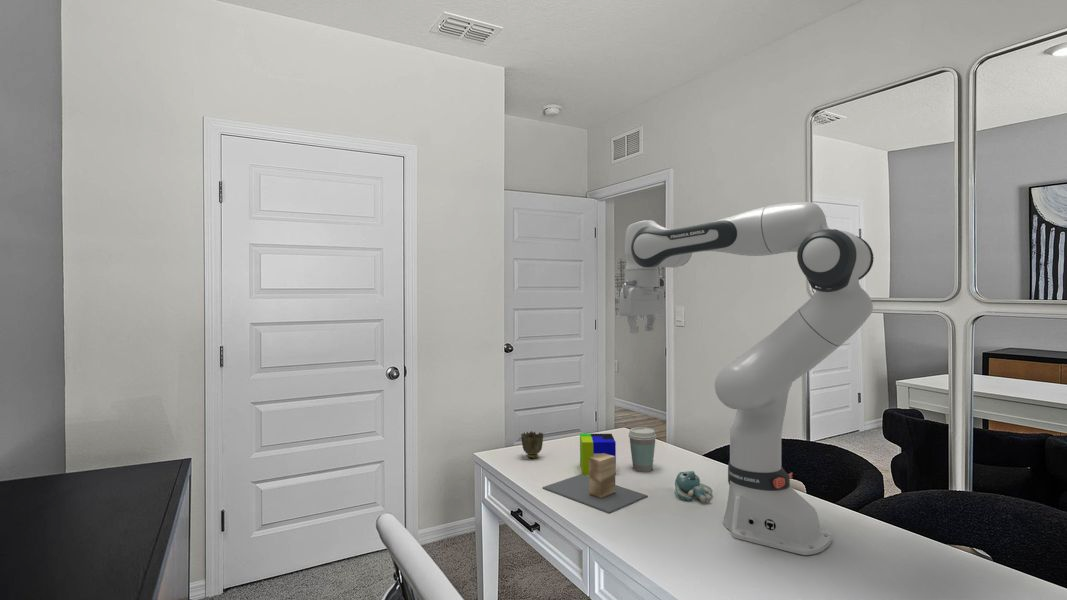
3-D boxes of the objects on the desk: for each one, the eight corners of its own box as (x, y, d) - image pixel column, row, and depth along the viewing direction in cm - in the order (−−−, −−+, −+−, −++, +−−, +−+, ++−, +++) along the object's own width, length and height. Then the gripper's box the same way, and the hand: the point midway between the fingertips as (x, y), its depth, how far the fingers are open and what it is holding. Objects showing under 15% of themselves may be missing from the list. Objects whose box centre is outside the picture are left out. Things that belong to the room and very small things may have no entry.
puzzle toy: (615, 475, 162) (615, 442, 162) (582, 475, 162) (582, 442, 162) (611, 465, 172) (611, 433, 172) (580, 465, 172) (579, 433, 172)
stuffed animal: (691, 487, 137) (665, 464, 148) (688, 513, 138) (662, 488, 149) (726, 482, 140) (698, 460, 151) (723, 507, 142) (695, 484, 153)
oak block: (615, 493, 147) (615, 456, 146) (600, 499, 142) (600, 461, 142) (604, 489, 149) (603, 453, 149) (589, 494, 145) (589, 457, 145)
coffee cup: (655, 464, 172) (654, 427, 172) (658, 473, 163) (658, 433, 163) (627, 464, 173) (627, 426, 172) (629, 473, 164) (629, 433, 164)
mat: (647, 496, 145) (648, 495, 145) (609, 513, 134) (609, 512, 134) (581, 475, 162) (581, 473, 162) (542, 488, 152) (542, 487, 152)
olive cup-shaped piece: (547, 456, 181) (547, 432, 181) (536, 462, 175) (535, 437, 175) (529, 453, 185) (528, 430, 185) (517, 459, 179) (516, 434, 179)
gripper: (635, 280, 137) (635, 335, 137) (667, 281, 153) (667, 330, 153) (612, 280, 141) (613, 334, 141) (646, 281, 157) (647, 329, 157)
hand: (642, 332), depth 147 cm, fingers open, 8 cm apart
